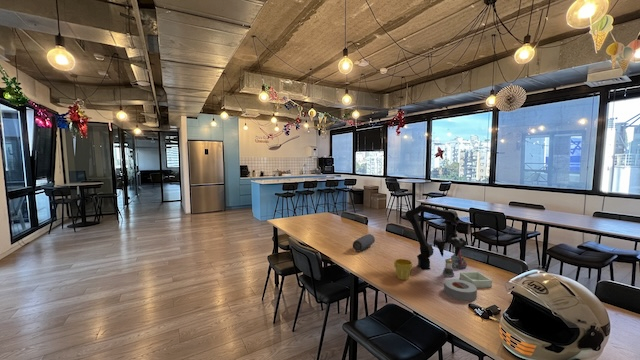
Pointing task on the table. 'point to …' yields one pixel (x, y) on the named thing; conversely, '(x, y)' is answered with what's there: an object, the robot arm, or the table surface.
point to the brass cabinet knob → (448, 266)
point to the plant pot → (403, 268)
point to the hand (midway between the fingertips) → (449, 256)
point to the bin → (476, 279)
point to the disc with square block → (448, 274)
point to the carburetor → (458, 261)
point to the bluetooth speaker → (363, 242)
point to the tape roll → (460, 290)
